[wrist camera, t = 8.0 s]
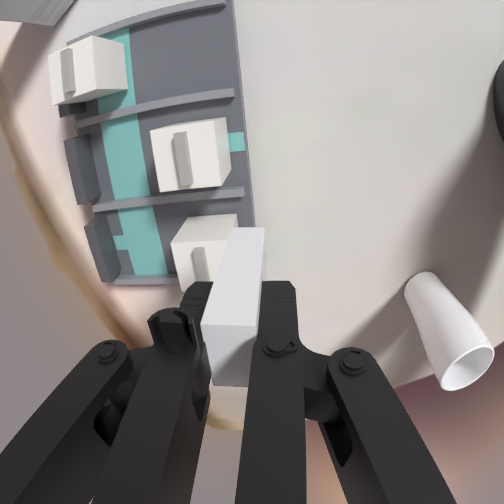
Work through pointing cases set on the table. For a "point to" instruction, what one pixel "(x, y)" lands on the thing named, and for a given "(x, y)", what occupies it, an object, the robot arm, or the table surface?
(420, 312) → the drinking glass
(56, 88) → the white block
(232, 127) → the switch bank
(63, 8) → the supplement box
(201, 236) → the switch slider
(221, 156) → the white block with ridge
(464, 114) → the table surface
